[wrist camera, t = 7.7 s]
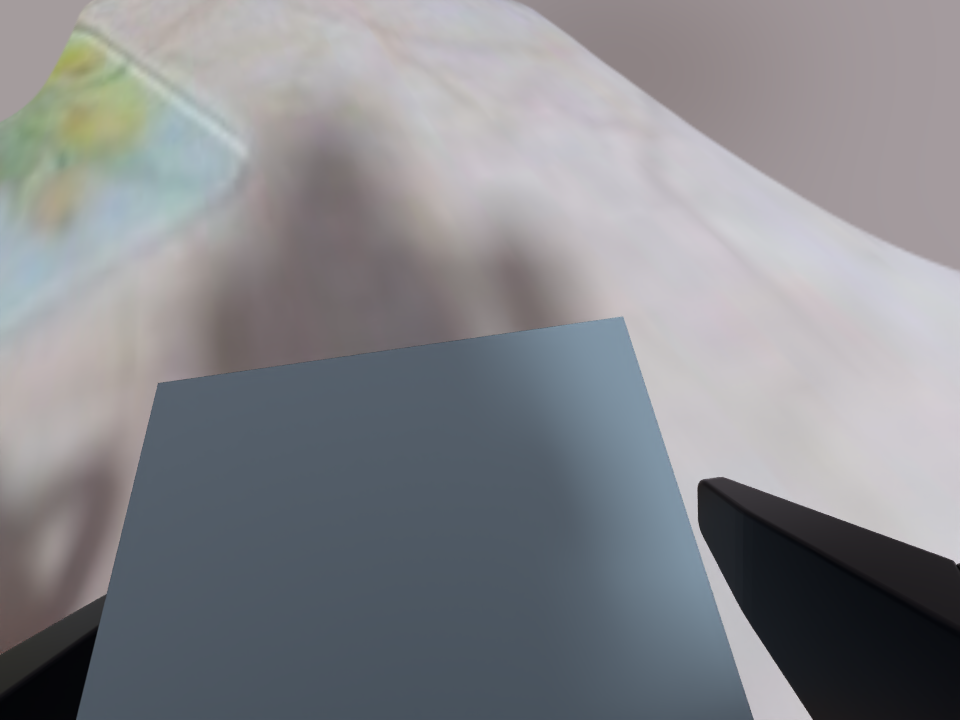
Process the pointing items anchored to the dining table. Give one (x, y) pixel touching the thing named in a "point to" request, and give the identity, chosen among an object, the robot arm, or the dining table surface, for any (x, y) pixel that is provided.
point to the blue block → (413, 545)
